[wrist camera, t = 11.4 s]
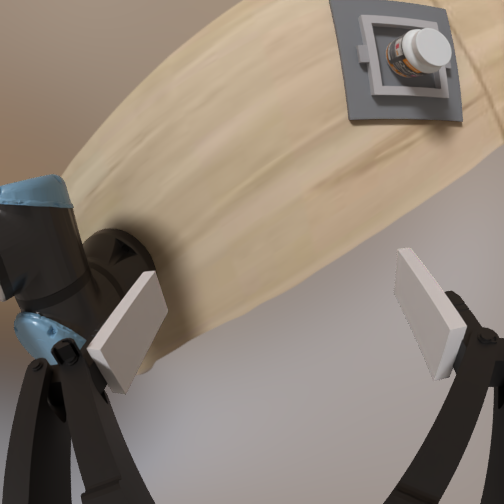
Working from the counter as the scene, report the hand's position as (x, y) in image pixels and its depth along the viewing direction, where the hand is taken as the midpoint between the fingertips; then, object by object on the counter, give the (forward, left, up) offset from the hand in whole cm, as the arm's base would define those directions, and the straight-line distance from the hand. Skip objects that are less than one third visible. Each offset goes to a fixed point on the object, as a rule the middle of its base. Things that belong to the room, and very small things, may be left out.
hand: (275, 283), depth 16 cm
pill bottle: (+19, +16, -28) cm, 37 cm away
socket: (+19, +16, -29) cm, 38 cm away
